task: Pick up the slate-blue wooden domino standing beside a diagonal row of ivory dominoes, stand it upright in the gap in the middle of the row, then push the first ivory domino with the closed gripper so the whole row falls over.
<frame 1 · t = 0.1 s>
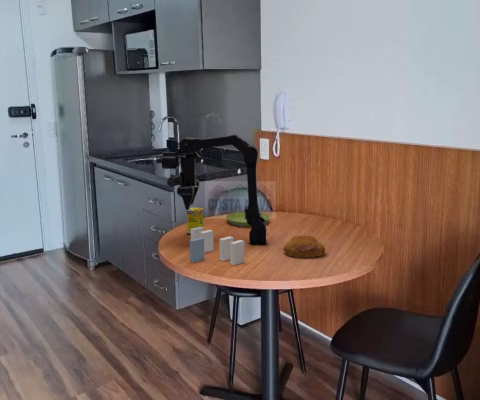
hand: (189, 207, 197), 15 cm above the table, tool pointing down, fingers open, 9 cm apart
supplement box: (195, 233, 212), on the table
domino 2: (226, 258, 179), on the table
domino 4: (197, 247, 193), on the table
saucer: (247, 223, 230), on the table
domino 3: (206, 251, 188), on the table
croissant: (304, 253, 186), on the table
domino 1: (237, 263, 175), on the table
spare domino: (197, 260, 178), on the table
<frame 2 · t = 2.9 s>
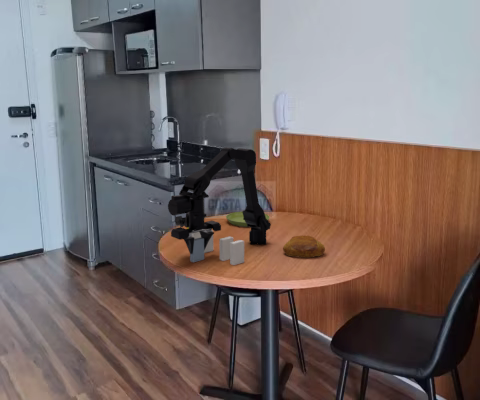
hand: (197, 252, 177), 3 cm above the table, tool pointing down, fingers closed on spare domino, 5 cm apart
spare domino: (197, 260, 178), on the table, touching gripper
everything else where it was.
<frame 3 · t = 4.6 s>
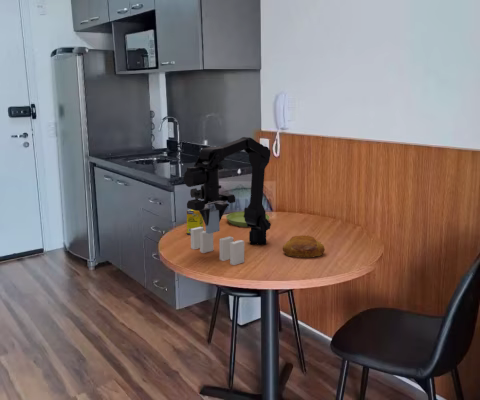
hand: (212, 223, 180), 12 cm above the table, tool pointing down, fingers closed on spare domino, 5 cm apart
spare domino: (212, 231, 181), point 9 cm above the table, touching gripper
everything else where it was.
when the fingers open (4 cm above the table, at t = 6.8 s): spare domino drops 1 cm, on the table.
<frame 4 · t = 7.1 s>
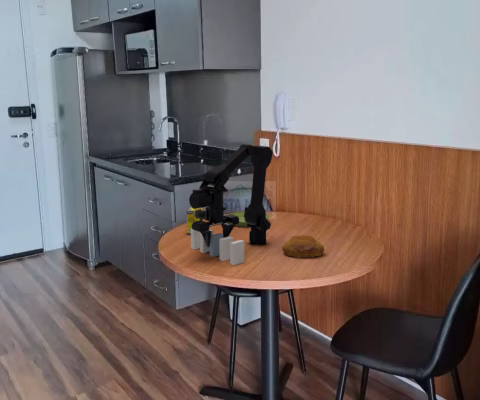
hand: (216, 244, 183), 4 cm above the table, tool pointing down, fingers open, 8 cm apart
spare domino: (216, 254, 184), on the table
everything else where it was.
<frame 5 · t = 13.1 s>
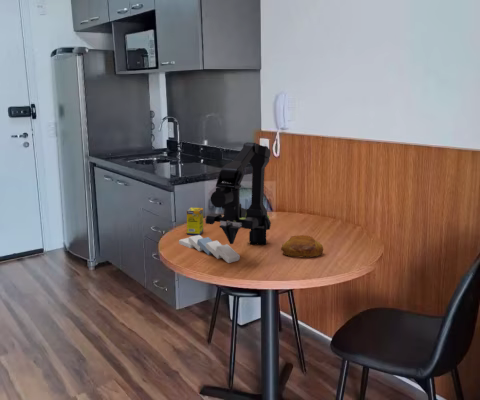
hand: (231, 243, 176), 6 cm above the table, tool pointing down, fingers closed
domino 2: (223, 255, 180), point 1 cm above the table, tilted 70°, touching domino 1, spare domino
domino 4: (195, 245, 193), point 1 cm above the table, tilted 90°, touching domino 3
domino 3: (204, 247, 189), point 1 cm above the table, tilted 74°, touching domino 4, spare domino
domino 1: (234, 259, 176), point 1 cm above the table, tilted 71°, touching domino 2
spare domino: (214, 251, 185), point 1 cm above the table, tilted 70°, touching domino 2, domino 3
everything else where it was.
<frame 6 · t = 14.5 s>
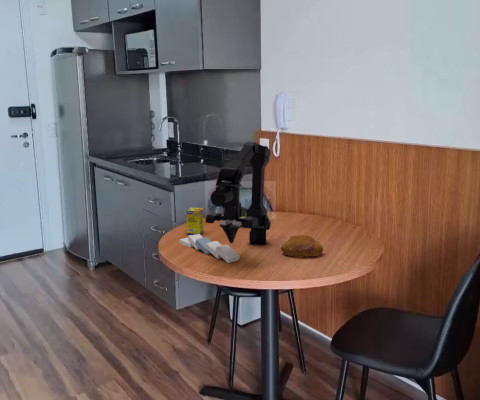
hand: (231, 243, 176), 7 cm above the table, tool pointing down, fingers closed
domino 4: (195, 245, 194), on the table, tilted 90°
domino 3: (203, 247, 190), point 1 cm above the table, tilted 74°, touching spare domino
everything else where it was.
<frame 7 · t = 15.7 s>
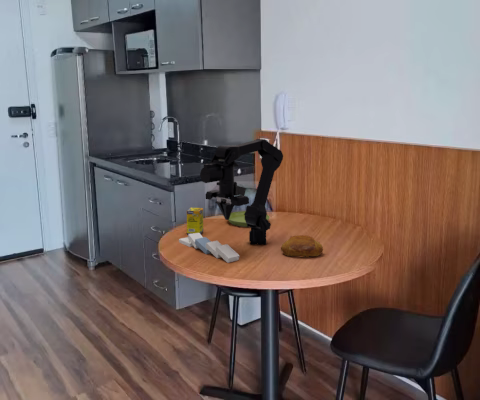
hand: (227, 219, 185), 13 cm above the table, tool pointing down, fingers closed
domino 4: (194, 244, 195), on the table, tilted 90°, touching domino 3
domino 3: (201, 245, 191), point 1 cm above the table, tilted 73°, touching domino 4, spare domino
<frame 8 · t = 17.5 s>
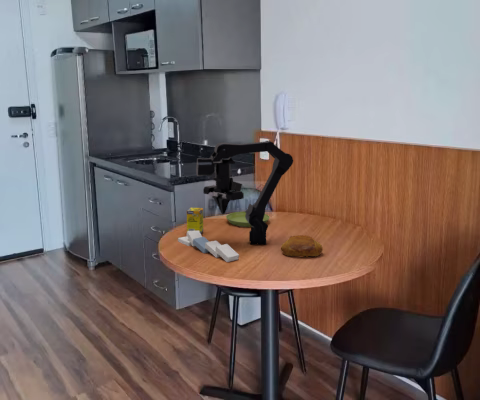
hand: (223, 213, 193), 13 cm above the table, tool pointing down, fingers closed
domino 4: (193, 243, 196), on the table, tilted 90°, touching domino 3
domino 3: (199, 244, 193), point 1 cm above the table, tilted 70°, touching domino 4, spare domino
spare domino: (209, 249, 187), point 1 cm above the table, tilted 74°, touching domino 2, domino 3
at the end: domino 4 tilted 90°; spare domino tilted 75° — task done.
